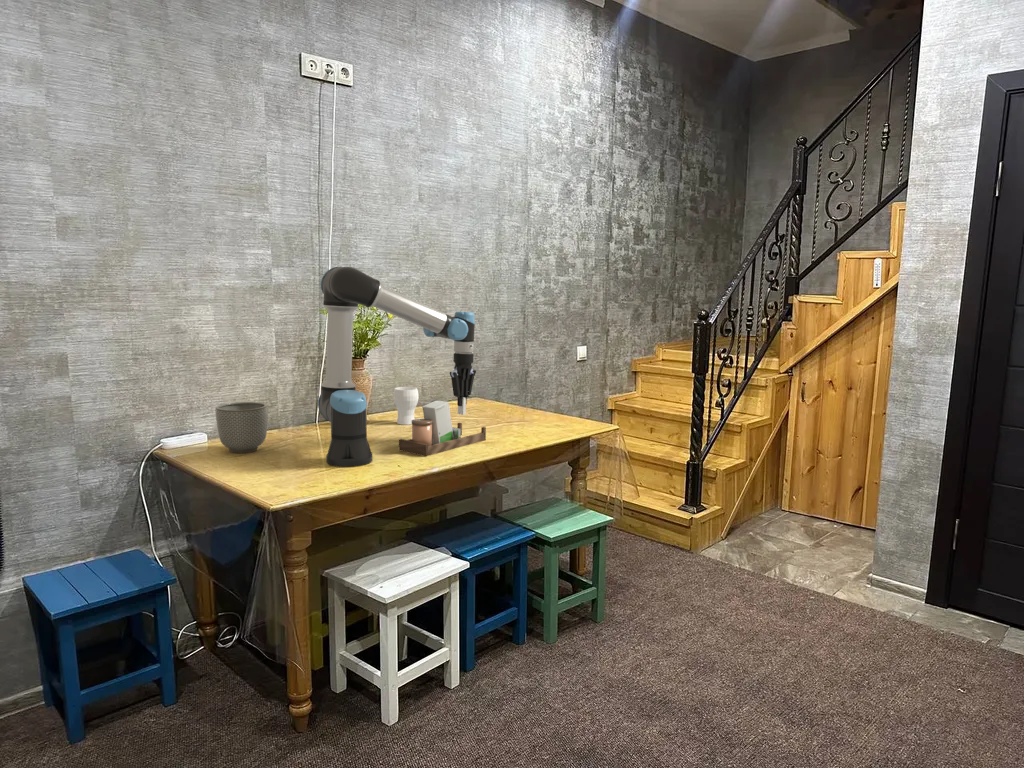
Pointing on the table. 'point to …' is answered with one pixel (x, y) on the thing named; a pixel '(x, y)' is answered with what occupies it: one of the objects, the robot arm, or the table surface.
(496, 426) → the table surface
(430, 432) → the jar
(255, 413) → the planter
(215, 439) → the table surface
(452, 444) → the frame
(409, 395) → the cup
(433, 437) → the skincare box
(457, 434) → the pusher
